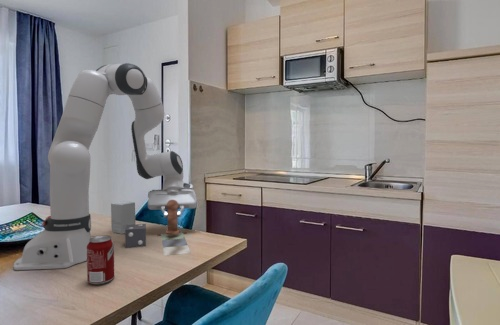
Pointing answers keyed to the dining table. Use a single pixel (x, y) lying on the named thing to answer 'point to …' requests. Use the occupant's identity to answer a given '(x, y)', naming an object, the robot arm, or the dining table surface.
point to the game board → (174, 244)
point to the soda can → (100, 260)
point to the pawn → (172, 218)
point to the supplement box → (122, 215)
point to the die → (135, 235)
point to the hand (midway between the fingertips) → (172, 216)
